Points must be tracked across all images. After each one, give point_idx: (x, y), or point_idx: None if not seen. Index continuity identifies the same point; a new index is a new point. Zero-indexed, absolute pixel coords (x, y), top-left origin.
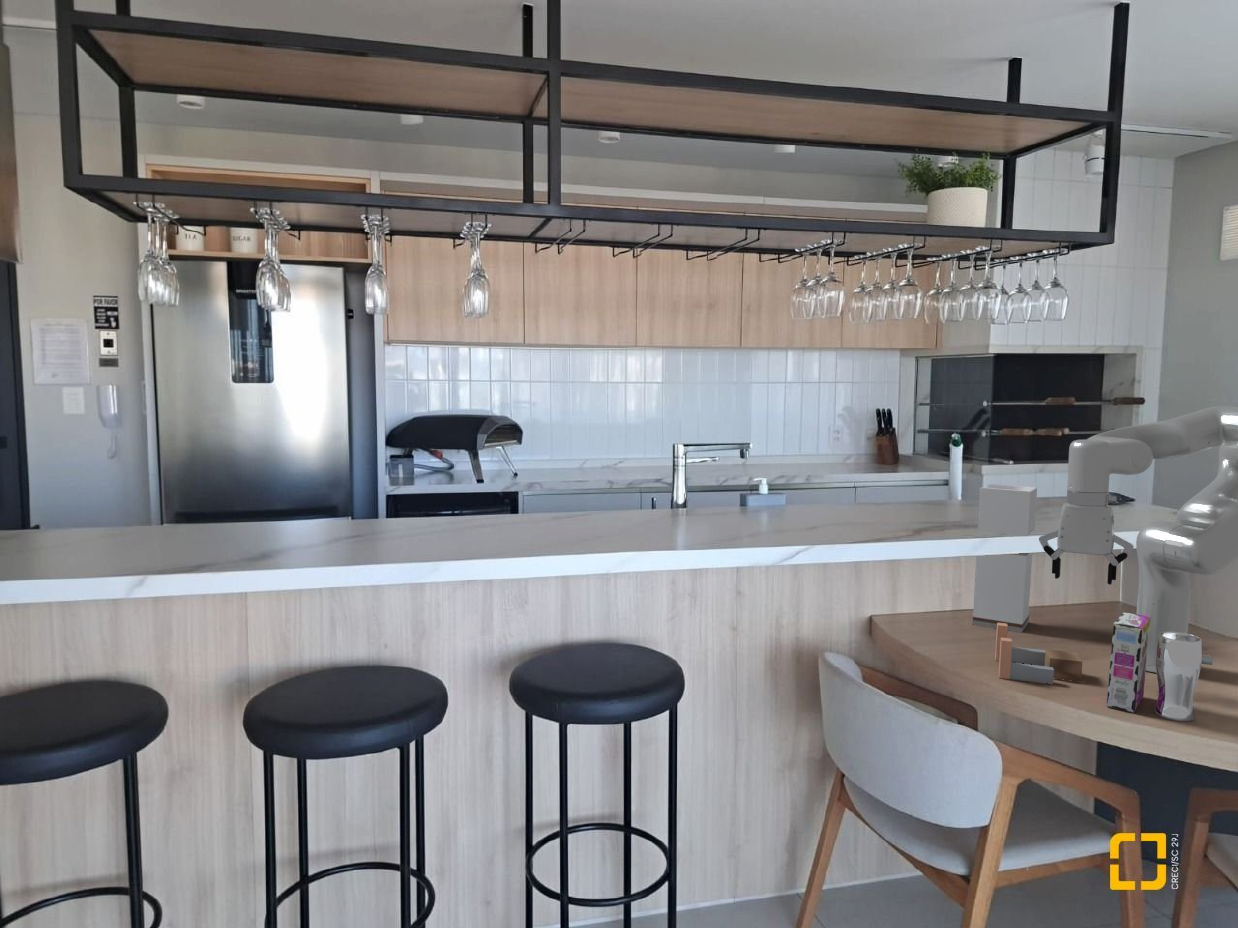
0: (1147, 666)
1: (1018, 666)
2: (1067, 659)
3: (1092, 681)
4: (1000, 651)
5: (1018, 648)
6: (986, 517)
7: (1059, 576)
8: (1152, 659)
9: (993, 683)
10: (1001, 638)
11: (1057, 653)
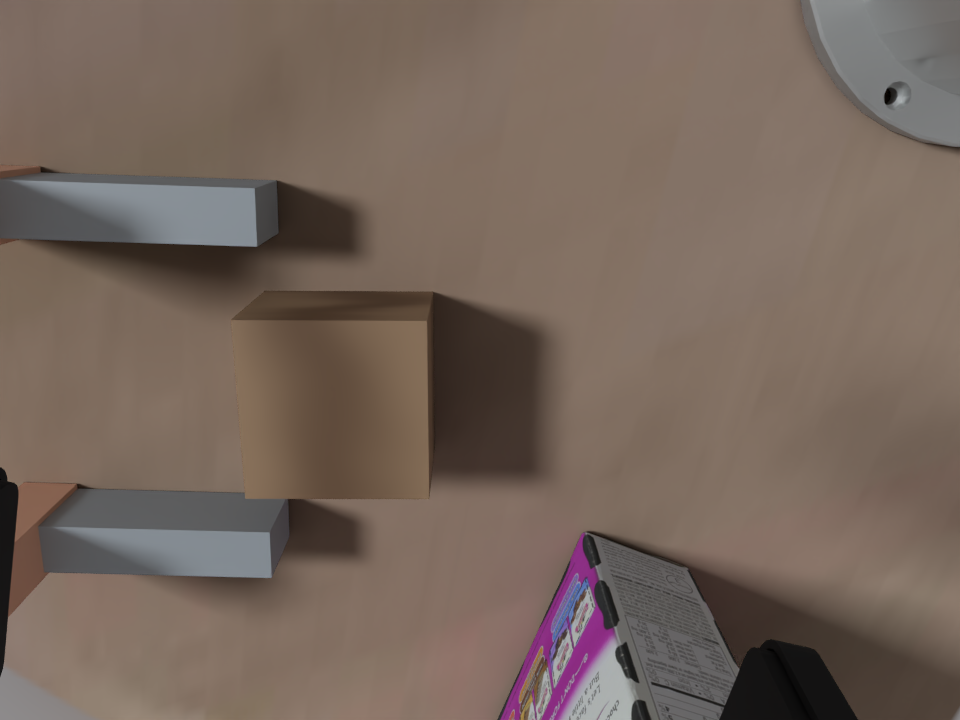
0: (881, 114)
1: (88, 572)
2: (346, 490)
3: (496, 416)
4: None
5: (77, 211)
6: None
7: (10, 562)
8: (942, 78)
9: (10, 620)
10: None
11: (300, 382)
